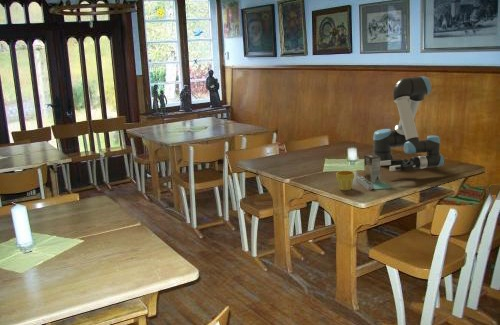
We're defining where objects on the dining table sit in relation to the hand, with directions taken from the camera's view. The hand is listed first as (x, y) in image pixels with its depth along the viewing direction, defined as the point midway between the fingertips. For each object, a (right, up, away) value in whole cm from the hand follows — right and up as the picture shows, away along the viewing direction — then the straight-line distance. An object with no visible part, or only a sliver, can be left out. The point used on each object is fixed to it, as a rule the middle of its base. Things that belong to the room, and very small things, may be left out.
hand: (385, 166), depth 305 cm
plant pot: (-26, -13, -9) cm, 31 cm away
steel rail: (-13, -11, -5) cm, 18 cm away
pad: (-6, -12, -9) cm, 16 cm away
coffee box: (-7, -10, +2) cm, 12 cm away
